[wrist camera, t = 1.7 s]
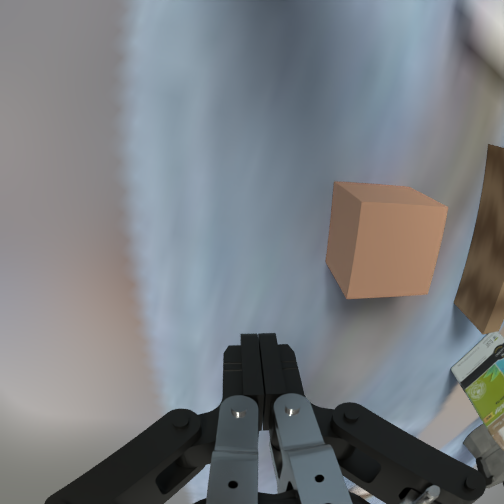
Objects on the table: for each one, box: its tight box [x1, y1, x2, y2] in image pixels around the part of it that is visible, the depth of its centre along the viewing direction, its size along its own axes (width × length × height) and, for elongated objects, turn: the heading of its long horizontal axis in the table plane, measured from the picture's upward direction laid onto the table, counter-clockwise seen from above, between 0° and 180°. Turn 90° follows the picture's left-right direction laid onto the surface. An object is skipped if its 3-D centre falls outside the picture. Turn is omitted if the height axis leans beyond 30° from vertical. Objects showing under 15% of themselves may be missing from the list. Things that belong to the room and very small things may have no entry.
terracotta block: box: [326, 181, 448, 299], centre depth 27 cm, size 8×8×7 cm
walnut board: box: [454, 144, 504, 334], centre depth 28 cm, size 20×3×7 cm, turn 179°
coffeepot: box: [463, 424, 504, 488], centre depth 44 cm, size 15×9×18 cm, turn 70°
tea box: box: [451, 331, 504, 451], centre depth 34 cm, size 15×10×15 cm
